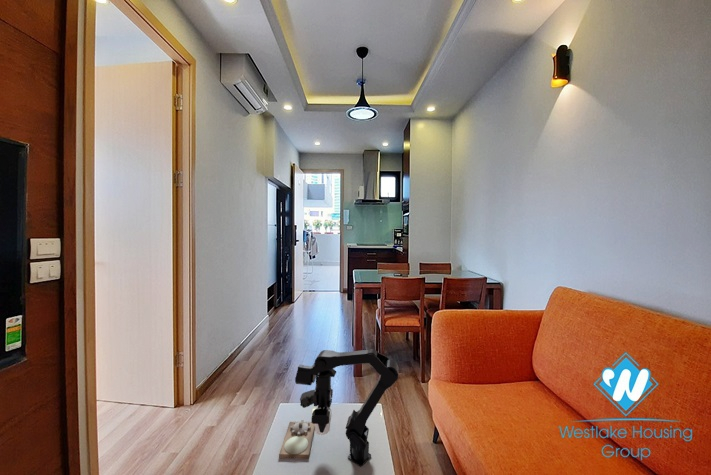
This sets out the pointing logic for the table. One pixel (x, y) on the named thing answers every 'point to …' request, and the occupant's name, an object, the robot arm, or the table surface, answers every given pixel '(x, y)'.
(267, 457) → the table surface
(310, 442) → the gear board
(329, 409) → the shot glass
